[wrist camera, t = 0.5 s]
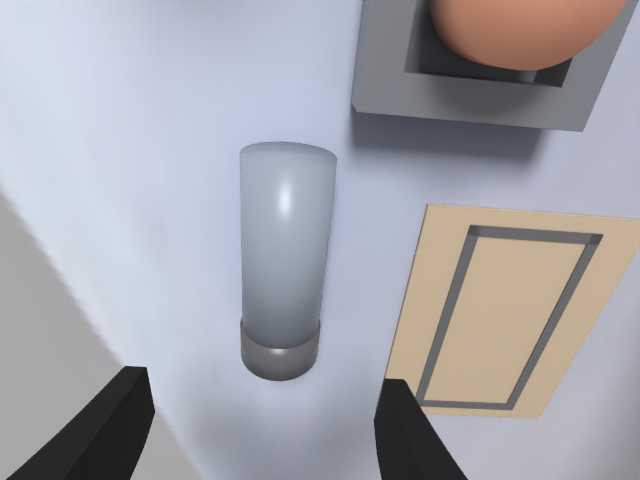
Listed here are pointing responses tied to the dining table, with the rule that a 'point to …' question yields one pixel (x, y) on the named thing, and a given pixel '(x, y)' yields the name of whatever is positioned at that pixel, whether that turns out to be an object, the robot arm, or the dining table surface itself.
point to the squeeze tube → (283, 254)
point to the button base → (471, 74)
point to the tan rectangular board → (503, 305)
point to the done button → (521, 29)
